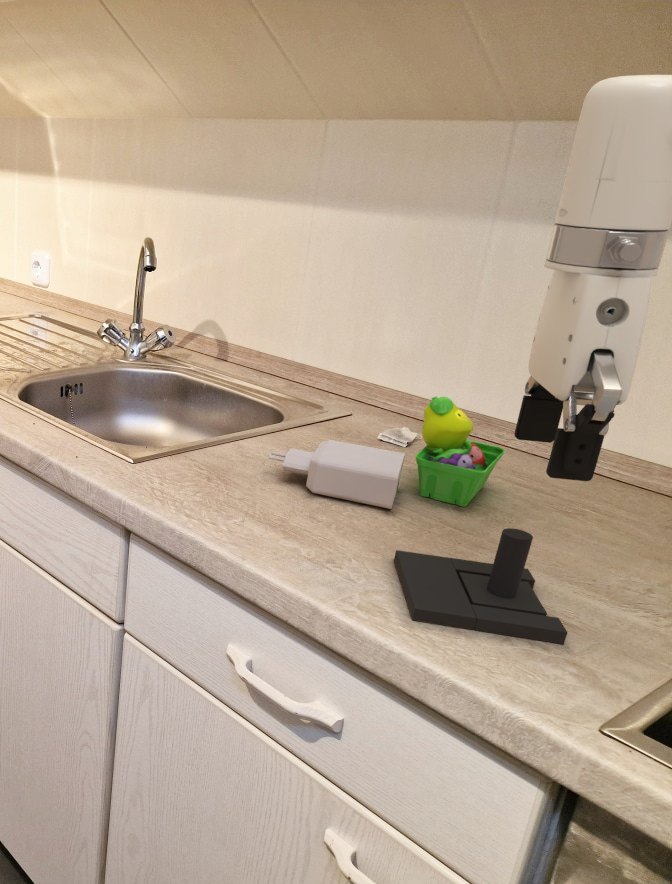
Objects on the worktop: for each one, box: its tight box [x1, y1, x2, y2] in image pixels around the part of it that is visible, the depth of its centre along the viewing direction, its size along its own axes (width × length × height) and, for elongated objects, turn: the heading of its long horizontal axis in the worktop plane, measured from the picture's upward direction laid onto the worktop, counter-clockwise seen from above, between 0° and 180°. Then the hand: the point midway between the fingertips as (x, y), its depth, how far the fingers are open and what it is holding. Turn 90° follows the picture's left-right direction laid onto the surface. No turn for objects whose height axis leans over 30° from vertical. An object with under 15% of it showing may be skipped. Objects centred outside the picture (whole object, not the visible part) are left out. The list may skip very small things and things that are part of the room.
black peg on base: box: [458, 527, 548, 616], centre depth 76 cm, size 6×6×7 cm
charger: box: [267, 439, 406, 510], centre depth 102 cm, size 5×9×15 cm
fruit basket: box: [415, 396, 506, 508], centre depth 102 cm, size 11×9×11 cm
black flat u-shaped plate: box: [393, 549, 569, 645], centre depth 78 cm, size 12×12×1 cm
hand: (549, 458), depth 72 cm, fingers open, 9 cm apart
